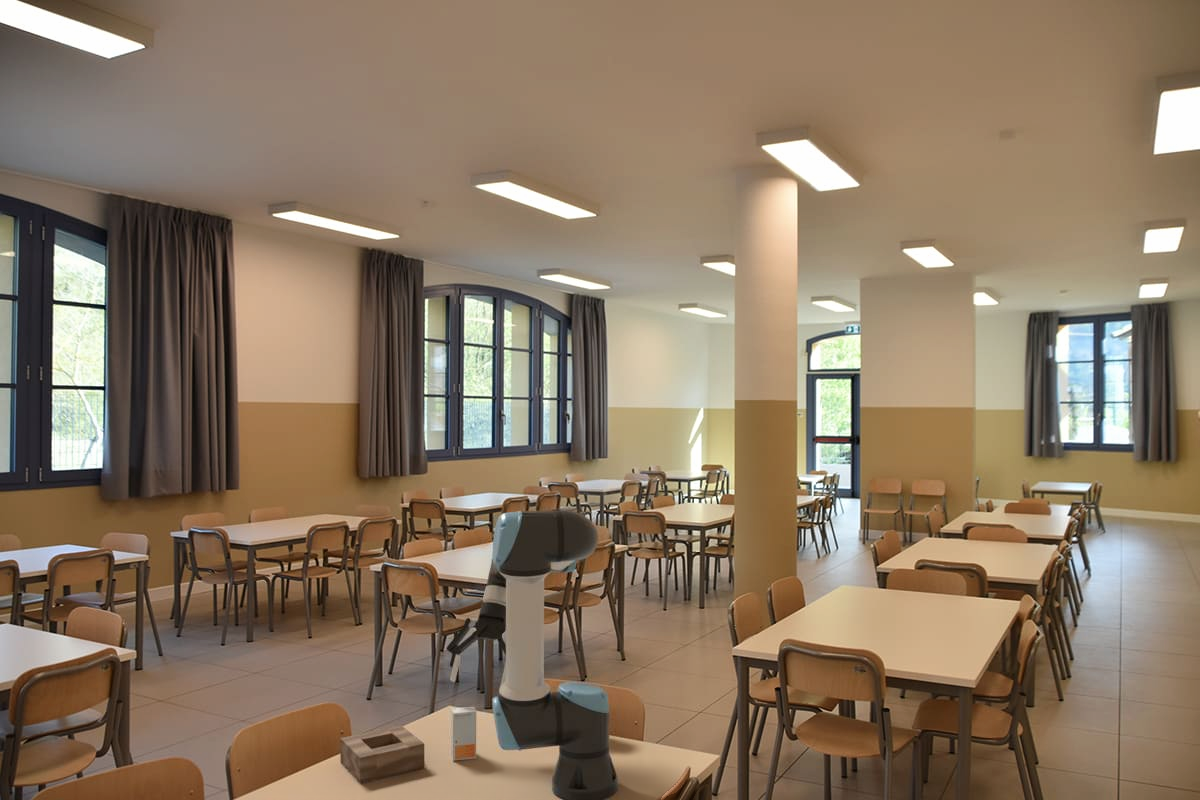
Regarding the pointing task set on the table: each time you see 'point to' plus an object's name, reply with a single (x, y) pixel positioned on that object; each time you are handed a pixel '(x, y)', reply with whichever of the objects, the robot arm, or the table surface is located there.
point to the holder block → (381, 753)
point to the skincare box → (463, 733)
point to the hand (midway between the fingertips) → (477, 685)
